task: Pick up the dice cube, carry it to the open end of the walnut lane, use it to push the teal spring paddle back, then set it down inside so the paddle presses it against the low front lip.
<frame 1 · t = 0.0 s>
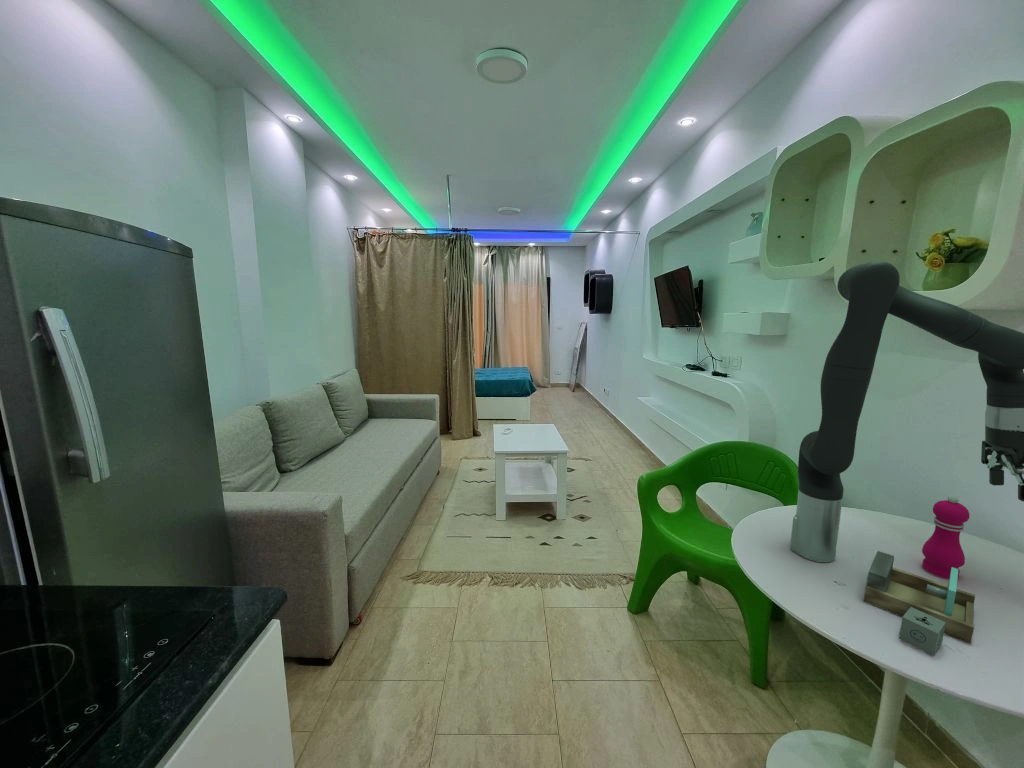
hand: (1010, 492, 92), 22 cm above the table, tool pointing down, fingers open, 8 cm apart
pepper mill: (939, 572, 100), on the table
dice cube: (919, 642, 80), on the table
spring paddle: (940, 592, 86), point 5 cm above the table, slide at 0.0 cm
pusher lane: (916, 605, 89), on the table
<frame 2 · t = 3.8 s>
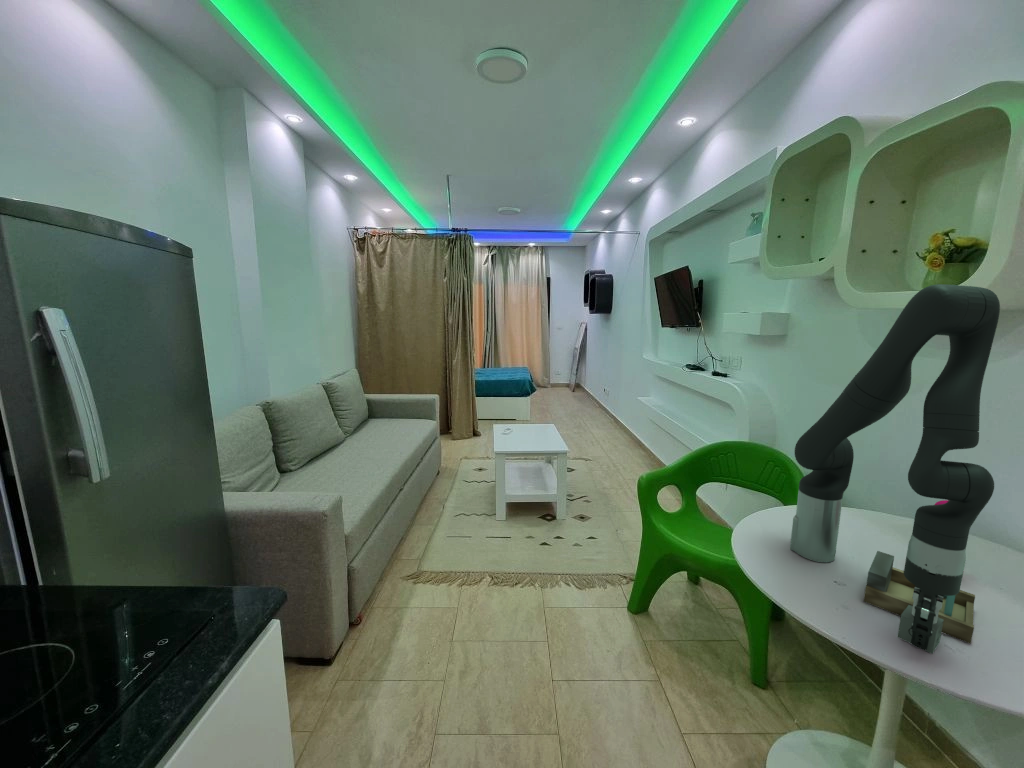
hand: (920, 637, 80), 1 cm above the table, tool pointing down, fingers closed on dice cube, 5 cm apart
dice cube: (918, 640, 80), on the table, touching gripper
everything else where it was.
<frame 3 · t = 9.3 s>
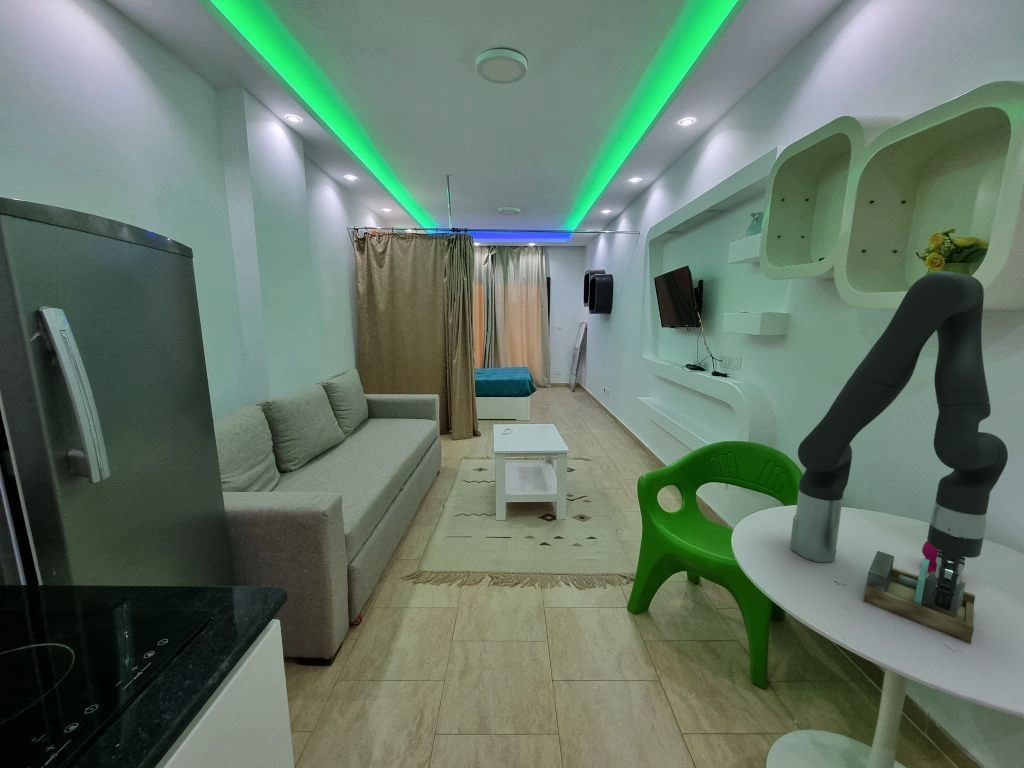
hand: (942, 600, 86), 3 cm above the table, tool pointing down, fingers closed on dice cube, 5 cm apart
dice cube: (941, 602, 86), point 3 cm above the table, touching gripper, spring paddle
spring paddle: (911, 582, 89), point 5 cm above the table, slide at 4.4 cm, touching dice cube
everything else where it was.
when the fingers open (2 cm above the table, at t = 10.3 s): dice cube stays where it is, resting on pusher lane.
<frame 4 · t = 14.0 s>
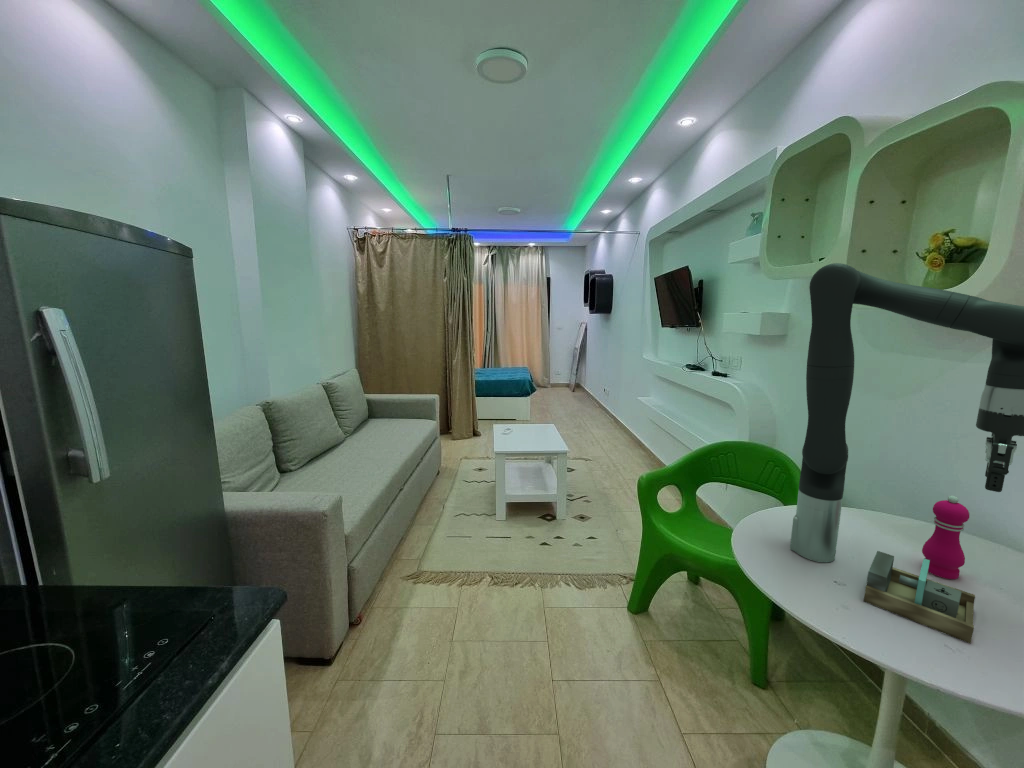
hand: (992, 484, 84), 28 cm above the table, tool pointing down, fingers open, 8 cm apart
dice cube: (938, 612, 86), resting on pusher lane
spring paddle: (912, 582, 89), point 5 cm above the table, slide at 4.3 cm
everything else where it was.
at the end: dice cube 0.7 cm from the target spot on the pusher lane, point 0.4 cm above the pusher lane's base; spring paddle slide at 4.3 cm; dice cube tilted 0° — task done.
